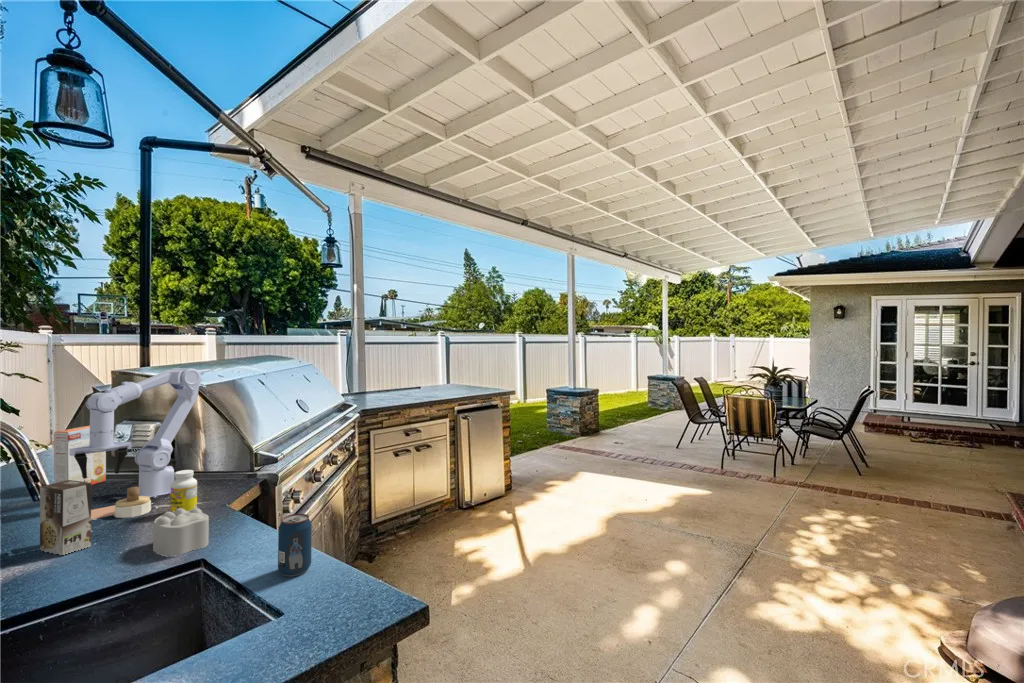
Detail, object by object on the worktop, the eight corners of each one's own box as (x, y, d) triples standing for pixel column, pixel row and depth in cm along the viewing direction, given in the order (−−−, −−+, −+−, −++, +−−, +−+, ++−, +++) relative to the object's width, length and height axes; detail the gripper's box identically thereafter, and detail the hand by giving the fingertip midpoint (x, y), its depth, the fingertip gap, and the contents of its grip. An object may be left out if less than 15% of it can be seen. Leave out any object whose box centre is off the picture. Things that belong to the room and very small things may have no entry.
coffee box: (92, 546, 122) (93, 482, 122) (61, 557, 116) (62, 489, 116) (69, 541, 125) (70, 478, 125) (38, 551, 119) (38, 485, 119)
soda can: (298, 561, 115) (299, 510, 115) (317, 568, 112) (318, 516, 112) (271, 573, 109) (271, 519, 109) (290, 580, 106) (291, 525, 106)
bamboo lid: (135, 497, 150) (135, 483, 150) (156, 499, 148) (156, 485, 148) (108, 505, 142) (108, 490, 142) (130, 508, 140) (130, 493, 140)
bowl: (146, 507, 151) (146, 496, 151) (153, 514, 145) (154, 502, 145) (111, 515, 144) (111, 503, 144) (118, 521, 139) (118, 509, 139)
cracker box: (91, 480, 179) (92, 424, 179) (106, 481, 178) (107, 424, 178) (52, 492, 165) (53, 431, 165) (68, 493, 164) (68, 431, 165)
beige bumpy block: (169, 560, 115) (169, 523, 115) (143, 548, 122) (143, 513, 122) (214, 544, 124) (214, 510, 124) (187, 534, 131) (188, 502, 131)
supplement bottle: (164, 516, 143) (165, 473, 143) (187, 509, 149) (187, 467, 150) (179, 519, 141) (180, 475, 141) (202, 512, 147) (202, 470, 147)
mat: (119, 506, 152) (119, 504, 152) (126, 513, 145) (126, 511, 145) (76, 514, 144) (76, 512, 144) (82, 523, 138) (82, 521, 138)
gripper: (127, 427, 158) (127, 468, 158) (68, 432, 147) (67, 477, 147) (133, 429, 153) (132, 472, 153) (72, 435, 142) (71, 482, 142)
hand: (100, 475), depth 150 cm, fingers open, 7 cm apart
